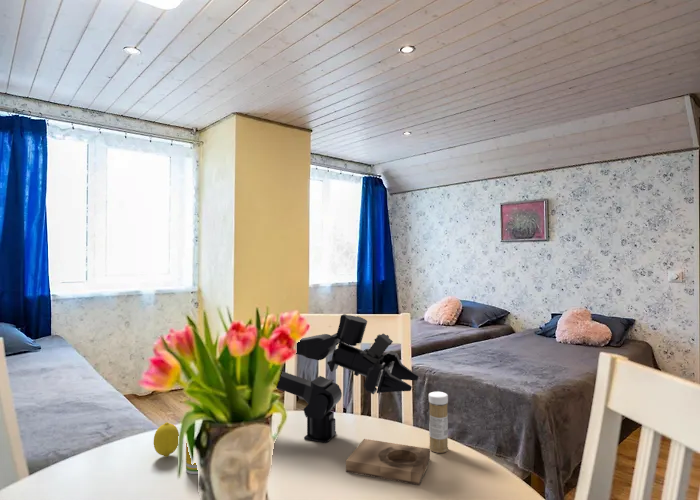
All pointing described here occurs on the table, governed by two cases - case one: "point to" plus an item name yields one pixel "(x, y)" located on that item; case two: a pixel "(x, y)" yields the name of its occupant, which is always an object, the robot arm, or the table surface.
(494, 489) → the table surface
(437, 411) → the sprinkles bottle
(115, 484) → the table surface
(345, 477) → the table surface
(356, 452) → the board
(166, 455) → the lemon
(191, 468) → the supplement bottle
